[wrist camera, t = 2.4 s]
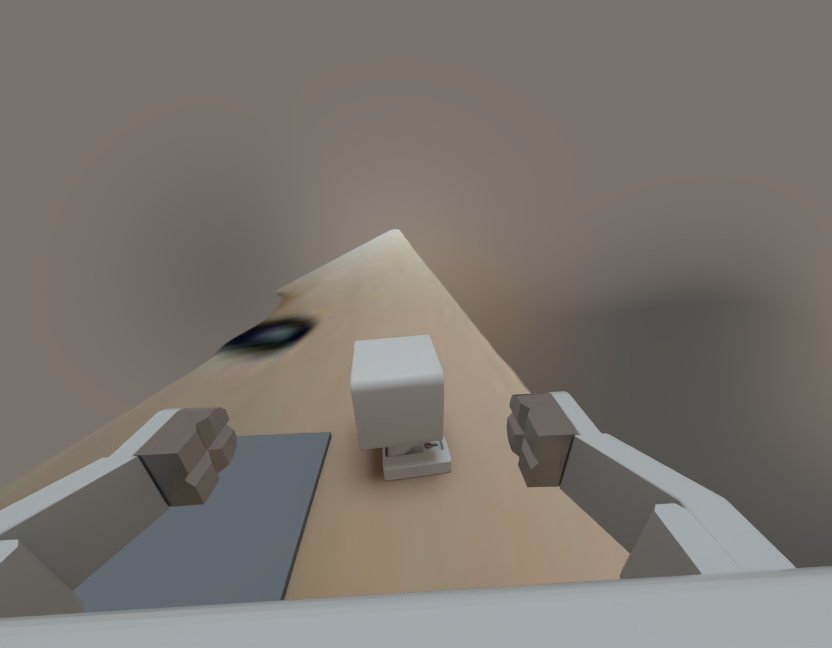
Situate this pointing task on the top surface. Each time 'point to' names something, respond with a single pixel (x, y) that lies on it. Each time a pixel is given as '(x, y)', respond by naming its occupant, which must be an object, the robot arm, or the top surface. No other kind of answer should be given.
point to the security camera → (400, 404)
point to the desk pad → (221, 535)
